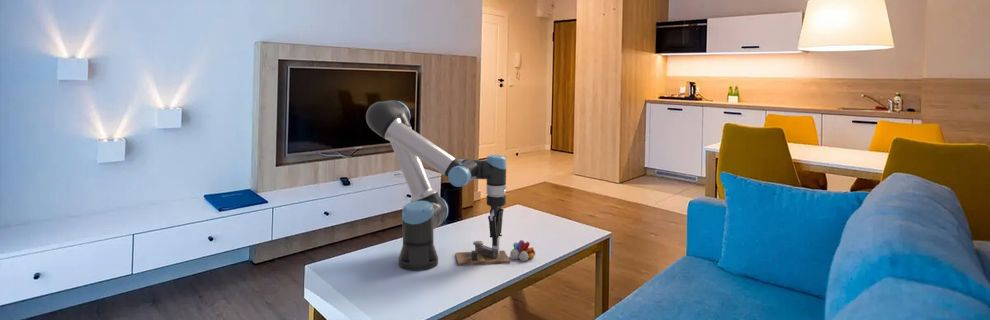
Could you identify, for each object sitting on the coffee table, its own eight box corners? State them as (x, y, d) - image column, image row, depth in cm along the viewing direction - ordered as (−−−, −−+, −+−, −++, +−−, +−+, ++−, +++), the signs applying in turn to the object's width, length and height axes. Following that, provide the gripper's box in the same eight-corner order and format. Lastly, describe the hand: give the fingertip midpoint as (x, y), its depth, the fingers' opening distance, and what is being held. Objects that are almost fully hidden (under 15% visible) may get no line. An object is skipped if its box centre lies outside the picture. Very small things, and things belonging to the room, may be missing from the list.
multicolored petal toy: (528, 263, 207) (528, 245, 205) (506, 259, 212) (507, 241, 211) (538, 257, 214) (538, 240, 213) (517, 253, 219) (517, 236, 218)
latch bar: (478, 253, 213) (478, 246, 213) (482, 252, 215) (483, 245, 214) (493, 258, 207) (493, 251, 207) (497, 257, 209) (497, 250, 209)
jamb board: (458, 265, 203) (458, 252, 202) (455, 254, 216) (455, 241, 215) (509, 263, 206) (510, 249, 206) (503, 252, 219) (504, 239, 218)
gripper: (500, 199, 200) (500, 259, 204) (510, 192, 212) (509, 248, 216) (481, 197, 202) (481, 257, 207) (492, 190, 215) (491, 246, 219)
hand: (495, 252), depth 211 cm, fingers closed
